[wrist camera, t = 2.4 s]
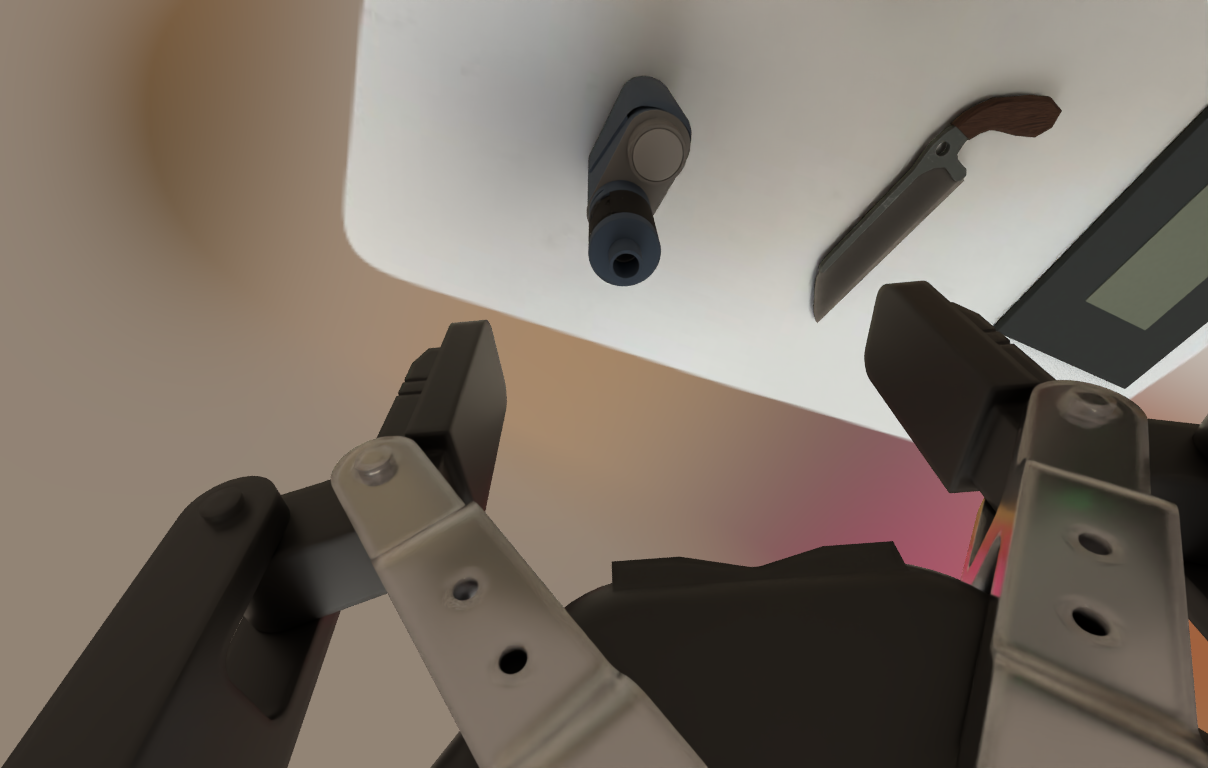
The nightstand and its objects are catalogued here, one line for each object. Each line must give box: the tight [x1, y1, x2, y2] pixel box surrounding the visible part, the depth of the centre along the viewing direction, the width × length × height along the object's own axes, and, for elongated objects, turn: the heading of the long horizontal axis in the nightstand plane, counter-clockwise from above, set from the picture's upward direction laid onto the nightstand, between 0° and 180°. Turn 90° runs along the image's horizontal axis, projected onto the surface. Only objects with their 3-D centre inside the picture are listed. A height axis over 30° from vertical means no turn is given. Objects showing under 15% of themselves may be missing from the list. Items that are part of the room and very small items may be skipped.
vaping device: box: [587, 76, 691, 286], centre depth 21 cm, size 3×5×12 cm, turn 151°
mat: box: [994, 107, 1208, 389], centre depth 30 cm, size 14×11×1 cm
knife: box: [813, 95, 1062, 323], centre depth 28 cm, size 14×4×1 cm, turn 146°
